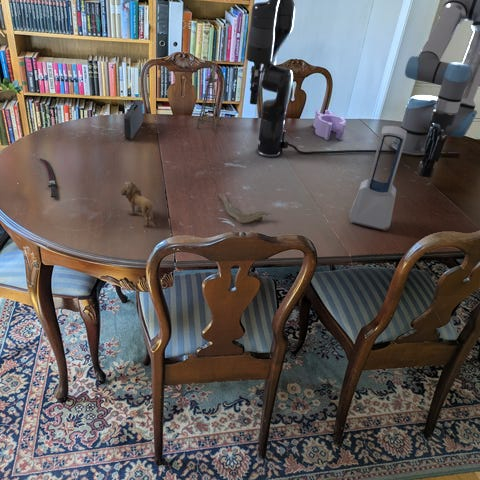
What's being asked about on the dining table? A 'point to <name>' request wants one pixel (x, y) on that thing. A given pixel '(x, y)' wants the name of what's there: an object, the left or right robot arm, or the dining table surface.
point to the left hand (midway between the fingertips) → (254, 100)
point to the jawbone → (239, 215)
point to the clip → (329, 124)
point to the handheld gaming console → (133, 119)
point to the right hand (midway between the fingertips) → (424, 173)
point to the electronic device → (378, 189)
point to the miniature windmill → (210, 80)
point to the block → (421, 168)
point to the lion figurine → (137, 201)
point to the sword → (52, 181)
